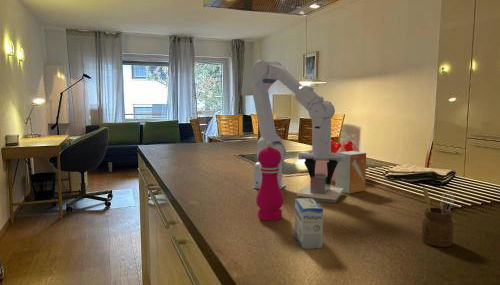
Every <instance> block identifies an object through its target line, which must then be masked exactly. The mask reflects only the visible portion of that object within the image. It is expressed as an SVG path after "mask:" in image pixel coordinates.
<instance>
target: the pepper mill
mask: <svg viewBox="0 0 500 285" xmlns="http://www.w3.org/2000/svg"><path fill="white" fill-rule="evenodd" d="M266 146H267V148H264V149H262V150H261V151H260V152H259V155H258V158H257V160H258V161H257V162H259V163H260V164H261V166H260V168H261V170H260V172H262V183H261V187H260V189H258V191H257V194H256V197H255V198H256V199H255V204H256V205H257V207H258V210H257V216H258V218H259V220H263V221H269V222H270V221H271V222H273V221H278V220H280V219H282V216H283V214H282V213H283V211H282V209H281V208H282V206H283V205H284V202H285V201H284V194H283V192H282V190H281V189H280V188H279V185H278V179H277V175H278V172H279V166H278V164H279V163H280V162H281V154H280V152H279V151H278V150H277V149H275V148H272V147H273V143H272V142H267V144H266Z"/></svg>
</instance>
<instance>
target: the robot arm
mask: <svg viewBox="0 0 500 285" xmlns="http://www.w3.org/2000/svg"><path fill="white" fill-rule="evenodd" d="M250 71H251V77H252V78H251V80H252V81H251V91H252V96H253V98H252V99H253V102H254V103H253V104H254V107H255V114H256V119H257V123H258V129H259V135H260V138H259V139H258V141H257V142H256V157H257V159H258V155H259V152H260V151H261V150H262V149H264V148H267V146H266V144H267V142H272V143H273V147H272V148H275V149H277V150H278V151H279V152H280V154H281V162H280V163H279V164H278V166H279V172H278V175H277V179H278V185H279V188H280V190H281V189H282V188H285V187H286V185H287V184H285V183H284V184H282V183H283V180H282V179H283V178H282V176H283V166H282V164H283V161H284V158H285V157H286V154H287V149H286V146H285V145H284V143H283V141H282V138H281V137H280V136H279V135H278V134H277V130H276V126H275V121H274V120H275V119H274V114H273V109H272V105H271V100H270V94H269V90H270V88H271V87H272V86H273V84H275V83H276V82H277V81H279V82H280V83H282V84H283V86H285V87H286V88H287V89H289V90H290V91H291V92H293V94H294V96H295V97H294V98H295V100H296V101H297V102H298V103H299V104H300V105H301V106H302V107H303V108H304V109H305V110H307V111H308V116H309V118H310V119H311V125H312V126H311V127H312V128H311V130H312V134H311V135H312V136H311V138H312V140H311V143H312V144H311V145H312V146H311V148H312V149H311V152H299V153H297V156H298V158H297V160H305V161H304V163H303V164H304V166H305V167H306V170H307V172H308V175H309V178H310V180H311V176H313V175H314V174H315V165H316V160H322V161H329V162H327V171H328V176H327V184H328V185H330V186H331V185H332V184H331V183H332V182H331V180H332V176H333V173H334V170H335V168H336V166H337V164H338V162H345V155H337V154H331V140H332V118H333V117H334V115H335V112H336V110H335V106H334V104H332V102H331V101H328V100H326V101H325V99H324V97H323V96H320V95H318V93H317V92H315V91H314V88H313V87H312V86H309V85H302V84H301V83H300V82H299V80H297V79H296V77H295V76H293V74H292V73H290V72H289V71H288V69H287V67H286V66H285V65H282V64H281V62H279V61H277V60H276V61H271V60H264V59H258V60H256V61H255V62H254V63H253V66H252V67H251V69H250ZM320 158H327V159H320ZM253 166H254V167H253V186H252V188H253V189H258V190H259V189H260V187H261V183H262V172H260V170H261V168H260V166H261V164H260V163H259V161H257V162H256V163H255V164H254V165H253Z"/></svg>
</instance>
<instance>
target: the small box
mask: <svg viewBox="0 0 500 285" xmlns="http://www.w3.org/2000/svg"><path fill="white" fill-rule="evenodd" d="M336 154H337V155H345V162H338V164H337V166H336V182H335V187H336V188H344V191H343V192H342V193H343V194H344V193H345V194H349V195H350V194H355V193H358V192H364V191H366V174H367V173H366V172H367V171H366V169H367V152H362V151H359V152H357V151H348V152H340V153H336Z"/></svg>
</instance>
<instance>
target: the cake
mask: <svg viewBox="0 0 500 285" xmlns="http://www.w3.org/2000/svg"><path fill="white" fill-rule="evenodd" d="M348 151H357V152H360V150H359V148H358V147H357V146H356V144H355V143H354V142H353V141H352V140H348V141H346V143H345V140H343V141H342V143H340V142H335V141H334V139H331V154H336V153H340V152H348ZM320 159H327V158H320ZM327 162H329V161H322V160H316V165H315V174H316V173H324V174H328V171H327ZM332 182H335V183H336V168H335V170H334V173H333V176H332V180H331V183H332Z"/></svg>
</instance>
